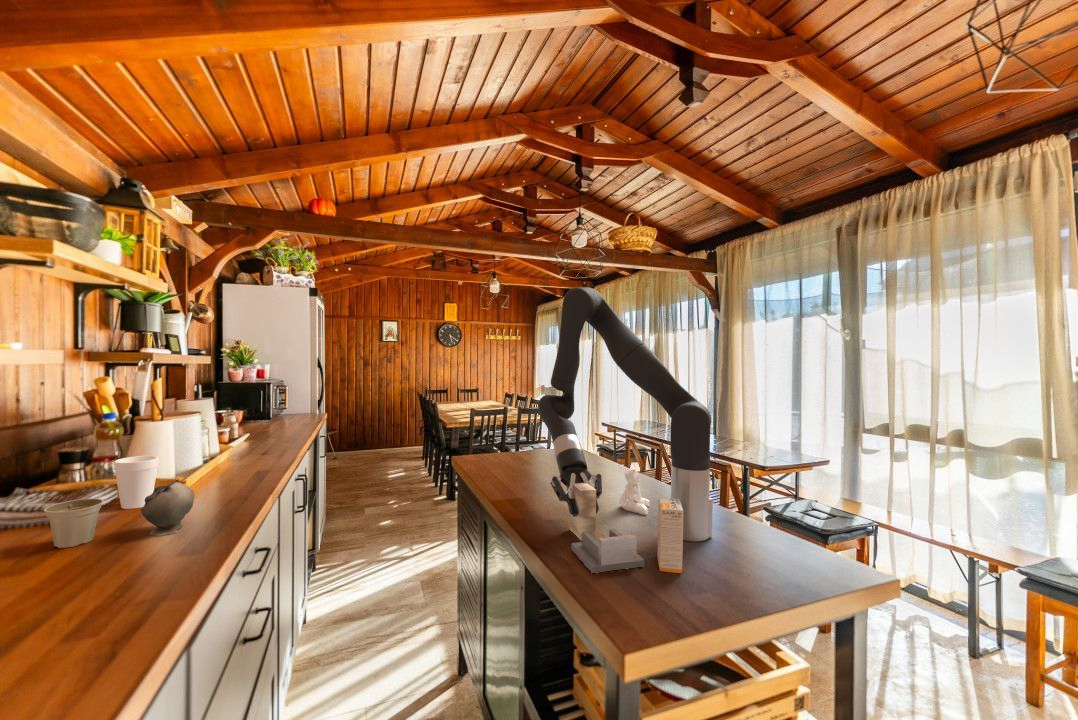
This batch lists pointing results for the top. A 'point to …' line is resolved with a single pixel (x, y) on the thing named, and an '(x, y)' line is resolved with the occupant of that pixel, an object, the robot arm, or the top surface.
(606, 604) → the top surface
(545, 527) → the top surface
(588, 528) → the brown paper bag
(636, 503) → the sitting furry creature
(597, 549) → the cradle
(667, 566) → the supplement box
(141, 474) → the foam cup
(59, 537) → the flower pot
